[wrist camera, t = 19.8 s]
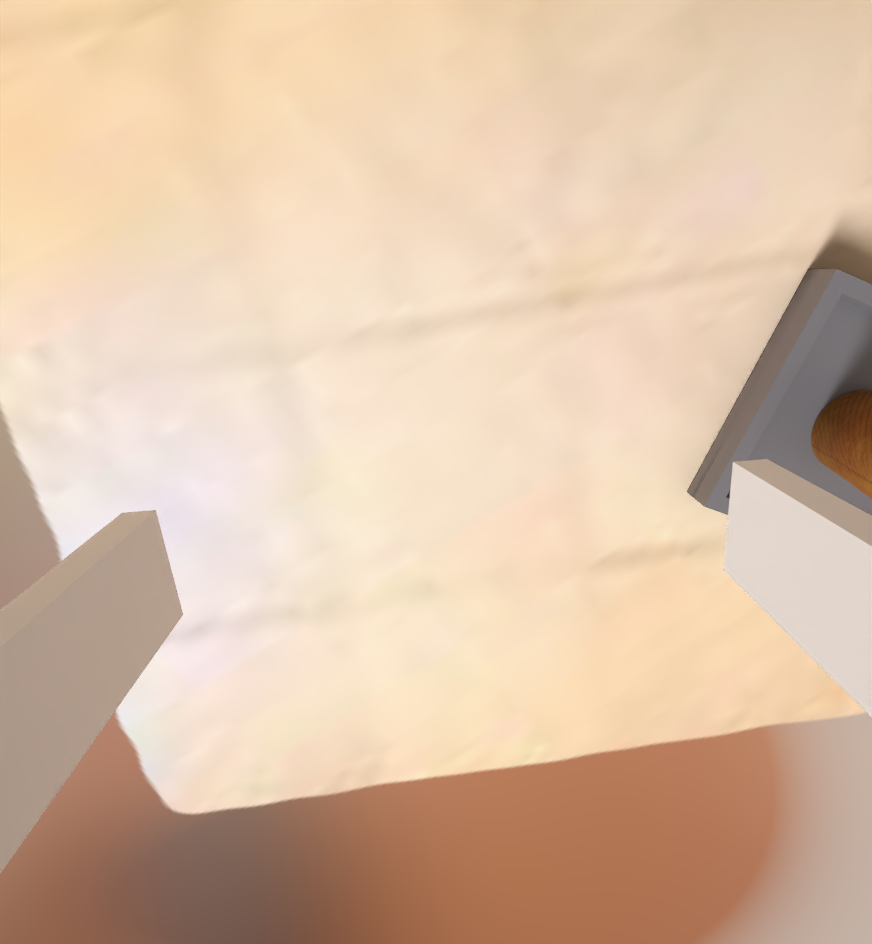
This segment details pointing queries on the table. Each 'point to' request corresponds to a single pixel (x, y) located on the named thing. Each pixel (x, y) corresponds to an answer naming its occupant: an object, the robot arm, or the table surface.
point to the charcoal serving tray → (797, 388)
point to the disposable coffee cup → (847, 438)
